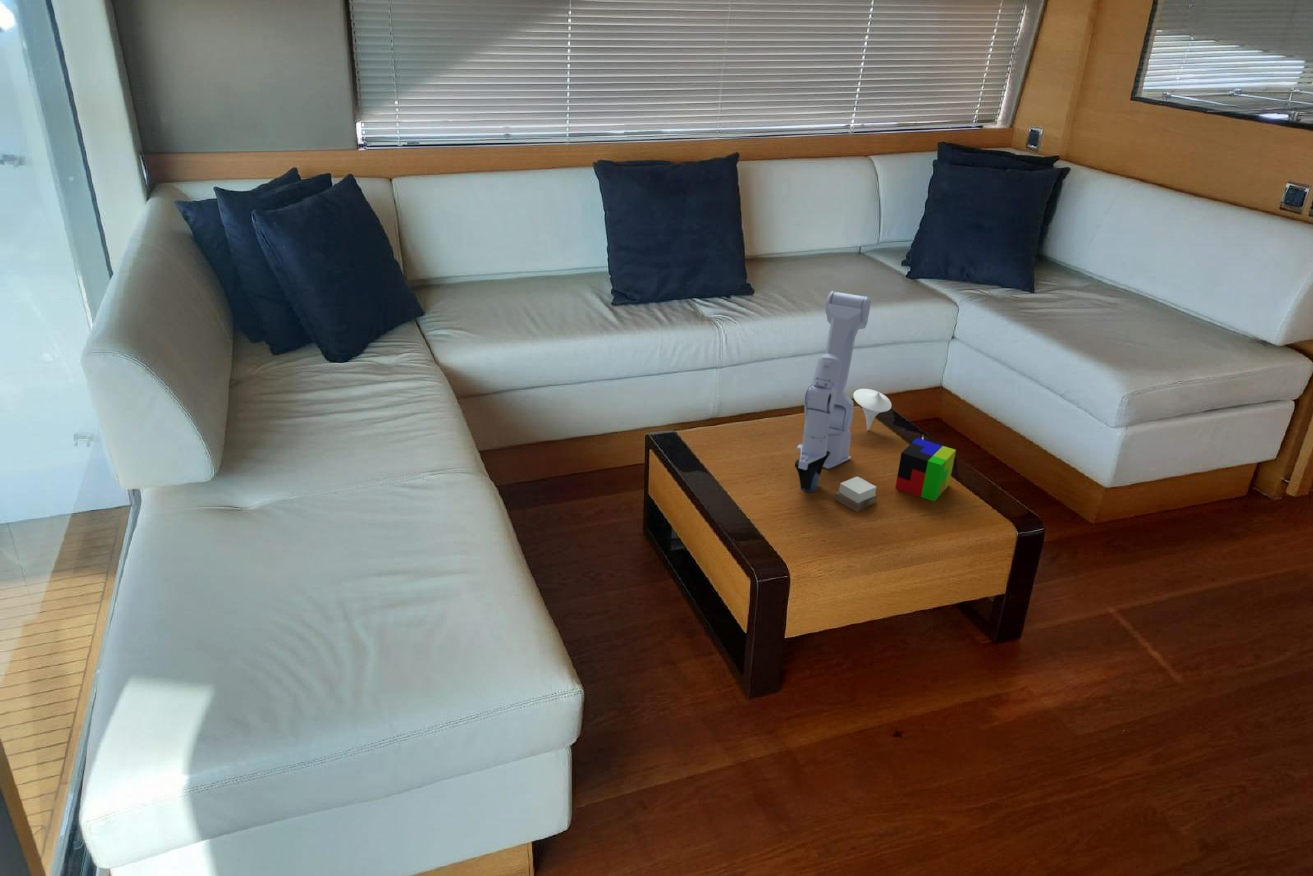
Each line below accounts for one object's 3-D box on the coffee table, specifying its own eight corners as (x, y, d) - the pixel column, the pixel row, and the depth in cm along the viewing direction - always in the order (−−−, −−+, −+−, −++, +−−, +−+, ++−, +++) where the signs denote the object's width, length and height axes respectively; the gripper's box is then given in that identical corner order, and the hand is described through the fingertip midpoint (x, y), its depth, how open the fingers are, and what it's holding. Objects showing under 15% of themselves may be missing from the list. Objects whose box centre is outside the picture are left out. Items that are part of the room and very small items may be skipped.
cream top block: (855, 485, 226) (857, 476, 225) (874, 495, 222) (876, 486, 221) (838, 492, 223) (840, 483, 222) (857, 503, 219) (859, 494, 218)
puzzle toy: (910, 473, 237) (916, 438, 233) (948, 485, 232) (955, 449, 228) (895, 488, 230) (901, 452, 225) (934, 501, 225) (941, 465, 220)
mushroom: (894, 431, 258) (901, 391, 253) (872, 442, 252) (878, 401, 246) (864, 418, 265) (869, 379, 260) (840, 429, 258) (846, 389, 253)
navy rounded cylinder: (808, 482, 231) (809, 468, 229) (820, 489, 228) (822, 474, 226) (797, 487, 228) (799, 473, 227) (809, 494, 226) (811, 479, 224)
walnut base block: (852, 492, 228) (853, 483, 227) (875, 504, 224) (877, 495, 222) (834, 501, 224) (835, 492, 223) (857, 514, 219) (858, 504, 218)
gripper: (810, 418, 229) (804, 466, 235) (788, 441, 217) (783, 491, 224) (838, 425, 226) (831, 474, 232) (817, 448, 215) (811, 499, 221)
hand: (809, 483), depth 228 cm, fingers open, 5 cm apart
